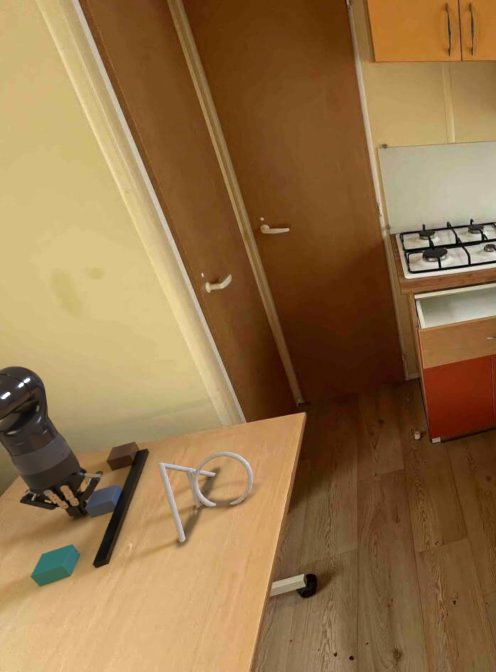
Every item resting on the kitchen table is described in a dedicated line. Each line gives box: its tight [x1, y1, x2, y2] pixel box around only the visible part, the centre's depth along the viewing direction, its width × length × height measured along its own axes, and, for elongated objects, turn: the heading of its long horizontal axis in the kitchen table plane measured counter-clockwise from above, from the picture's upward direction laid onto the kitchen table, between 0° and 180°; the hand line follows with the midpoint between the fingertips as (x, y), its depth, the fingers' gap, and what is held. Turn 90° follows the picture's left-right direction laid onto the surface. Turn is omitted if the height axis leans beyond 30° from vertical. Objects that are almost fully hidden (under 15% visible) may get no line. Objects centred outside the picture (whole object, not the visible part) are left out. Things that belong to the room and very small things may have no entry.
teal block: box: [30, 543, 81, 587], centre depth 81 cm, size 4×4×4 cm
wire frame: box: [157, 451, 254, 543], centre depth 95 cm, size 18×13×16 cm
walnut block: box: [106, 441, 141, 472], centre depth 104 cm, size 4×4×4 cm
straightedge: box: [92, 448, 150, 569], centre depth 94 cm, size 2×30×2 cm, turn 25°
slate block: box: [85, 483, 123, 519], centre depth 93 cm, size 4×4×4 cm
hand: (80, 513), depth 92 cm, fingers closed
